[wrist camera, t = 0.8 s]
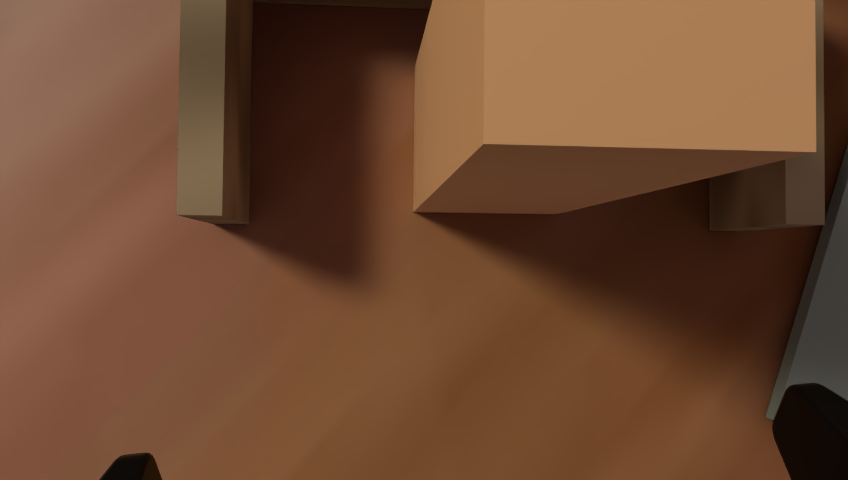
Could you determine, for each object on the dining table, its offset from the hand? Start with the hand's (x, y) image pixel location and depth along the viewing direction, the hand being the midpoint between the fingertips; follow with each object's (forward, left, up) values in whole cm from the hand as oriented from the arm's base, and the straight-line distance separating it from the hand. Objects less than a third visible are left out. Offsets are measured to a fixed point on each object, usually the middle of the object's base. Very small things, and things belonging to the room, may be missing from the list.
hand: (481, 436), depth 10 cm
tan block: (+7, 0, -14) cm, 16 cm away
